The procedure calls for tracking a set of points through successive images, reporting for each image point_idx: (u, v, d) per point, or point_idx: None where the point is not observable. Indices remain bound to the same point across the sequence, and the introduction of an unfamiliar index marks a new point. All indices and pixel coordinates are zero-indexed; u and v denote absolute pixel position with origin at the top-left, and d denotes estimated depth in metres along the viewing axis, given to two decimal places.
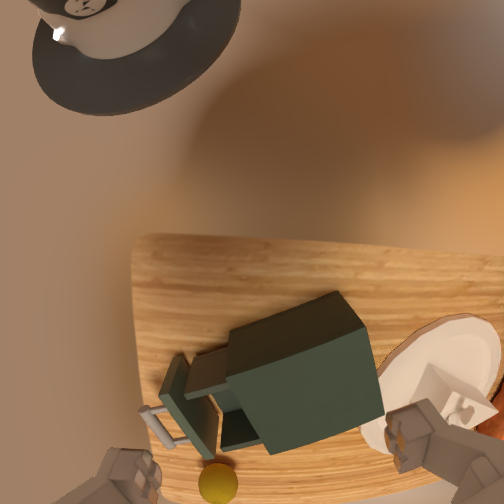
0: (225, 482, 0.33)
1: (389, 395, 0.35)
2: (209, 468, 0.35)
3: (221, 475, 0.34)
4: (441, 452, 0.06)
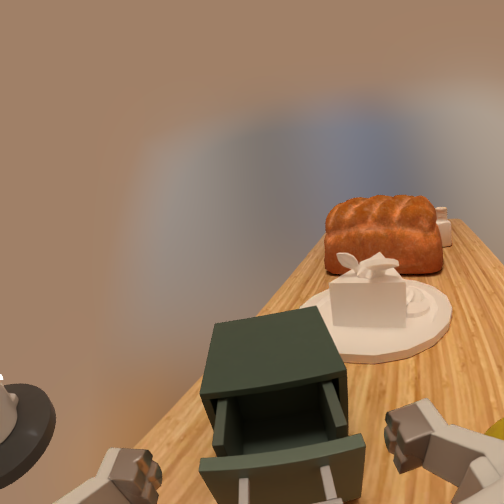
0: None
1: (362, 342, 0.38)
2: None
3: None
4: (441, 452, 0.06)
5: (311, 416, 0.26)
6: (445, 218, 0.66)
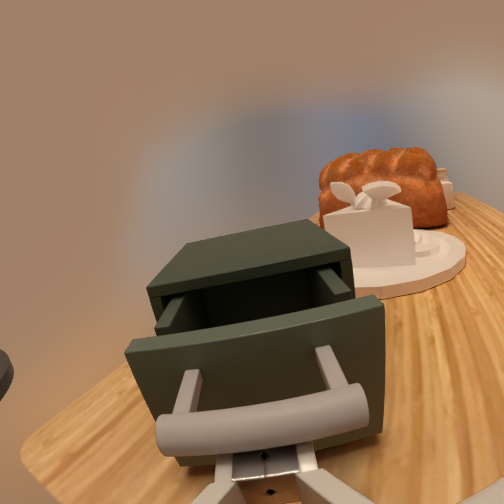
0: None
1: None
2: None
3: None
4: (308, 494, 0.06)
5: None
6: (446, 179, 0.61)
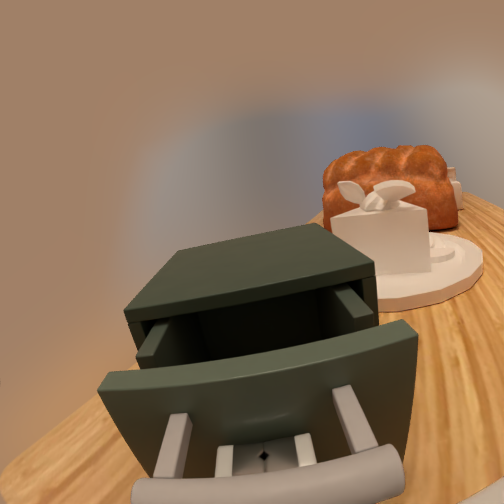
0: None
1: (378, 289, 0.29)
2: None
3: None
4: None
5: None
6: (454, 178, 0.57)
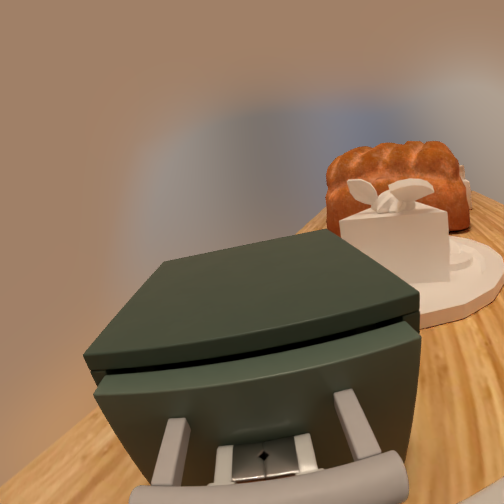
0: None
1: None
2: None
3: None
4: None
5: None
6: (463, 177, 0.54)
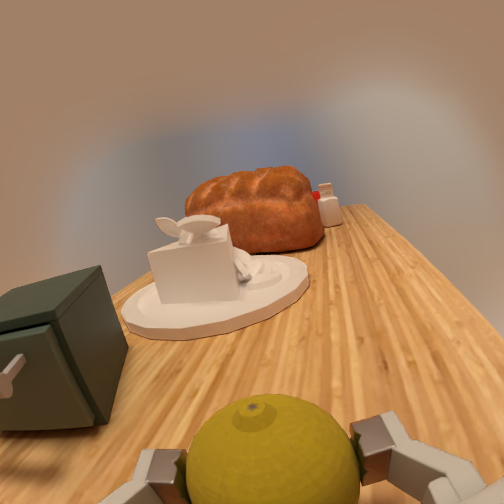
0: None
1: (180, 317, 0.33)
2: None
3: None
4: (403, 468, 0.06)
5: None
6: (330, 194, 0.68)
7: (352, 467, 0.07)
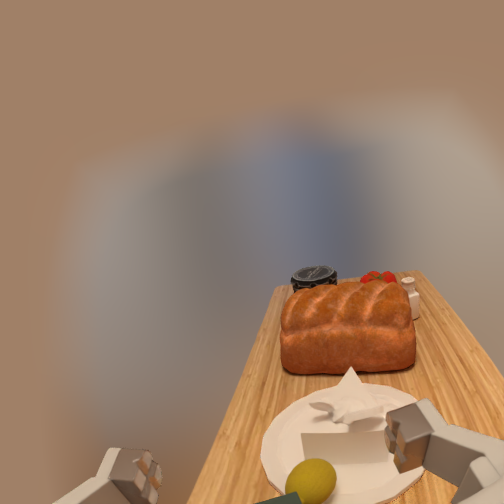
0: None
1: (341, 488, 0.29)
2: None
3: None
4: (441, 452, 0.06)
5: None
6: (413, 291, 0.63)
7: (328, 493, 0.25)
